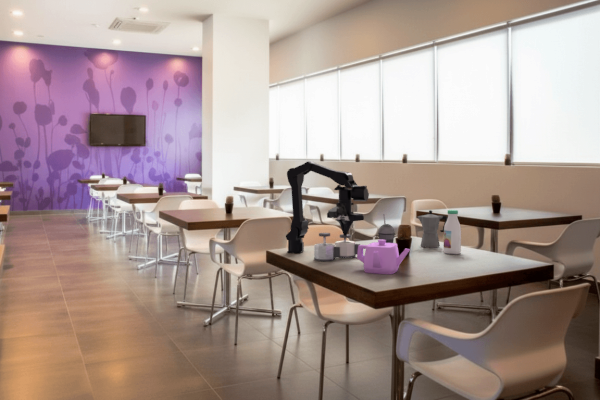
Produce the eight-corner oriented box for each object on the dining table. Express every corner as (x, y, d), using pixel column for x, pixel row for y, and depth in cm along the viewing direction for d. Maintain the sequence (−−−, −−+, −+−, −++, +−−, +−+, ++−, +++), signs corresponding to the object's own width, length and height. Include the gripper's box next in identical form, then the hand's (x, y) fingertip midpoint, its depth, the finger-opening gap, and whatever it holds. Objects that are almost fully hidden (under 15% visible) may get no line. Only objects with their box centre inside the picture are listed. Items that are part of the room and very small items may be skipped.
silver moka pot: (311, 260, 247) (311, 246, 247) (317, 257, 256) (317, 242, 256) (337, 262, 244) (337, 247, 244) (342, 258, 253) (342, 243, 252)
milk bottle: (459, 251, 268) (459, 209, 267) (462, 254, 261) (462, 211, 259) (442, 251, 269) (442, 209, 267) (444, 254, 261) (445, 210, 260)
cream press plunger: (338, 249, 256) (338, 235, 256) (340, 247, 261) (340, 234, 260) (349, 249, 255) (349, 235, 254) (351, 247, 259) (351, 234, 259)
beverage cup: (394, 261, 245) (394, 215, 244) (377, 260, 247) (377, 214, 245) (395, 258, 253) (395, 213, 251) (378, 257, 254) (378, 213, 252)
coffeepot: (415, 247, 282) (415, 210, 281) (418, 244, 291) (418, 209, 290) (447, 248, 277) (447, 211, 275) (449, 245, 286) (449, 210, 284)
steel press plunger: (317, 248, 248) (317, 234, 248) (320, 246, 253) (320, 232, 253) (328, 248, 247) (328, 234, 246) (331, 246, 252) (331, 232, 251)
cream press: (332, 257, 255) (332, 243, 254) (337, 254, 264) (337, 240, 263) (358, 258, 252) (358, 244, 251) (361, 255, 261) (362, 241, 260)
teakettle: (387, 265, 238) (388, 235, 237) (412, 272, 223) (412, 241, 222) (352, 268, 231) (352, 238, 230) (374, 276, 216) (374, 244, 215)
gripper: (317, 200, 258) (318, 234, 260) (346, 202, 244) (346, 239, 245) (336, 198, 265) (336, 232, 266) (364, 201, 251) (364, 236, 252)
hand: (345, 235), depth 257 cm, fingers closed, pressing on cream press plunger
